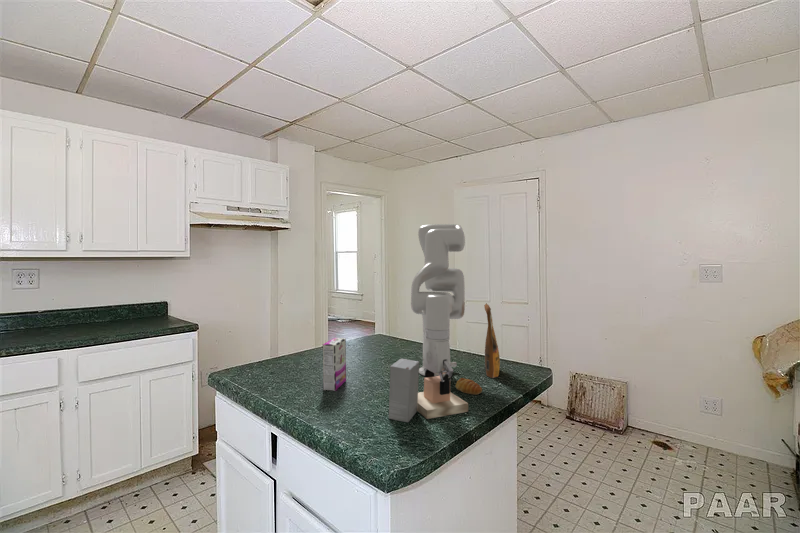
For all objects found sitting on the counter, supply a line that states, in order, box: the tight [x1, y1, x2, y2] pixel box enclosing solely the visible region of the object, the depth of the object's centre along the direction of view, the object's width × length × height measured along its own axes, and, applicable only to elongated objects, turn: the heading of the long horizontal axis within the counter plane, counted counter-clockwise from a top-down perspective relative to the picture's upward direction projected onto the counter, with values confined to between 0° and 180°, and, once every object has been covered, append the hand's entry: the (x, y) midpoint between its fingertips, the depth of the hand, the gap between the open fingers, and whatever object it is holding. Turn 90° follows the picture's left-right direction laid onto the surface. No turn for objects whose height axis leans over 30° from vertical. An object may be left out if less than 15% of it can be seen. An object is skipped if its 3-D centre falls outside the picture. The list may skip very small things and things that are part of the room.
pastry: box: [455, 377, 483, 396], centre depth 131 cm, size 9×7×4 cm
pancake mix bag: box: [484, 302, 501, 379], centre depth 153 cm, size 7×19×28 cm, turn 164°
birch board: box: [417, 391, 469, 420], centre depth 117 cm, size 14×14×2 cm
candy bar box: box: [322, 337, 347, 392], centre depth 135 cm, size 11×5×16 cm, turn 168°
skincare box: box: [388, 358, 420, 423], centre depth 110 cm, size 8×7×16 cm
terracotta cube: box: [423, 376, 450, 403], centre depth 117 cm, size 6×6×6 cm
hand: (436, 388), depth 117 cm, fingers open, 9 cm apart
